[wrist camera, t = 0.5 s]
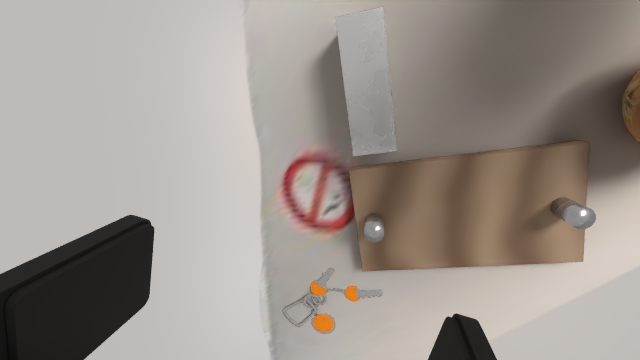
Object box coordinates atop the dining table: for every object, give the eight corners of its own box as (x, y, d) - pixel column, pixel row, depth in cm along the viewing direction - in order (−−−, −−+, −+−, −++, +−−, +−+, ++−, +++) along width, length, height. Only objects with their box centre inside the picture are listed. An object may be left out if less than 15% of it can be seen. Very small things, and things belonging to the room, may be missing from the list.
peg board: (578, 140, 29) (614, 147, 24) (573, 254, 31) (605, 278, 27) (349, 167, 33) (346, 177, 29) (363, 264, 36) (361, 286, 32)
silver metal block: (382, 21, 29) (383, 6, 24) (393, 143, 32) (396, 151, 27) (341, 30, 30) (335, 17, 25) (356, 148, 33) (353, 156, 28)
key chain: (312, 342, 41) (311, 347, 40) (276, 304, 40) (274, 308, 39) (386, 294, 37) (386, 298, 36) (347, 251, 36) (346, 254, 35)
